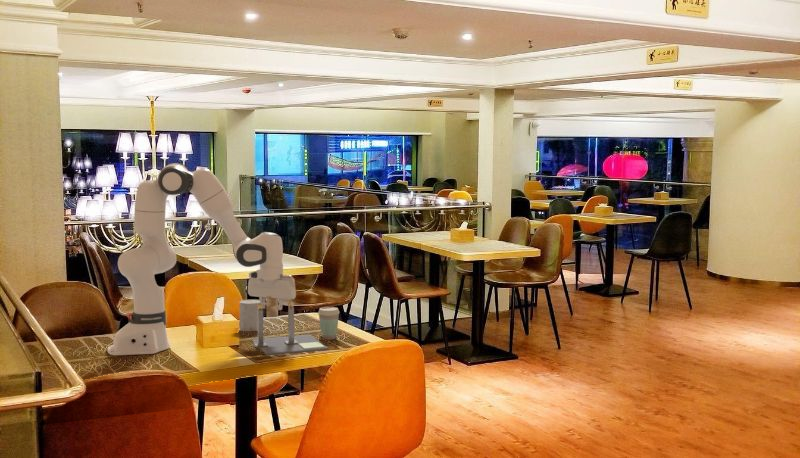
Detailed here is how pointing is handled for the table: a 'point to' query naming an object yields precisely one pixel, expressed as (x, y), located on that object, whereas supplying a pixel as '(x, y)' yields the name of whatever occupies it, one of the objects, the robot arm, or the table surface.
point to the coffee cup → (328, 322)
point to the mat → (279, 347)
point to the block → (271, 306)
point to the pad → (311, 345)
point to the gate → (290, 326)
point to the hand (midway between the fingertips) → (272, 309)
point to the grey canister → (248, 314)
